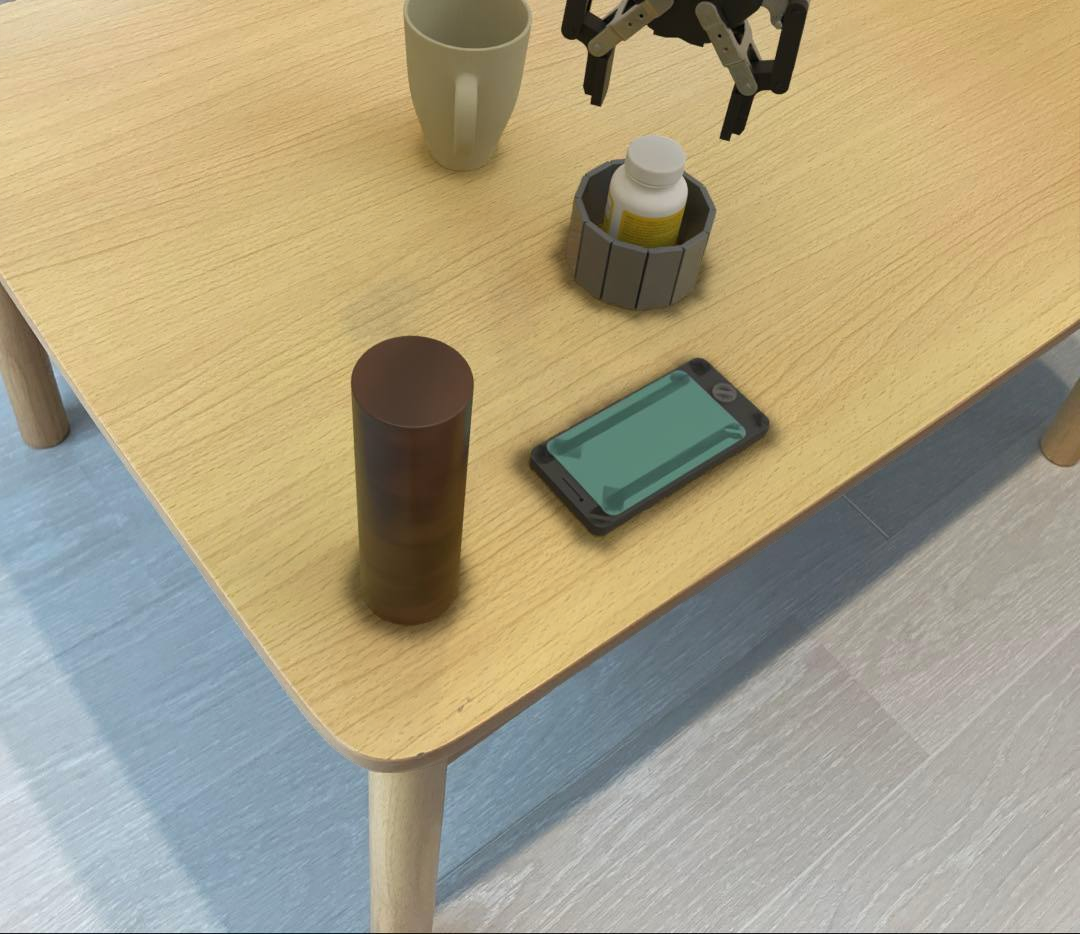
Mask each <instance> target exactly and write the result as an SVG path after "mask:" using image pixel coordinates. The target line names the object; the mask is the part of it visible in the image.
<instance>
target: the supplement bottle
mask: <svg viewBox="0 0 1080 934" xmlns="http://www.w3.org/2000/svg"><path fill="white" fill-rule="evenodd" d="M624 159H625V163H624V164H623V165H621V166H620V167H619V168H618V169H617V170H616V171H615V172H614V174H613V176H612V178H611V182H610V187H609V193H608V198H607V203H606V209H605V214H604V219H603V222H602V225H601V230H603V231H604V232H605V233H607V234H608V235H609V236H610V237H612V238H613V239H614V240H618V241H622V242H625V243H629V244H633V245H637V246H640V247H644V248H648V249H649V248H659V247H669V246H677V240H678V239H677V237H678V233H679V229H680V225H681V221H682V217H683V213H684V209H685V205H686V201H687V195H688V188H687V184H686V181H685V179H684V178H683V176H682V175H683V172H684V171H685V166H686V162H687V154H686V151H685V150H684V148H683V146H682V145H680V143H678V142H677V141H675V140H674V139H671V138H670V137H667V136H663V135H660V134H659V135H658V134H645V135H641V136H638V137H635V138H634V139H632V140H631V142H629V144H628V146H627V148H626V153H625V158H624Z"/></svg>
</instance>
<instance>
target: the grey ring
mask: <svg viewBox="0 0 1080 934" xmlns="http://www.w3.org/2000/svg"><path fill="white" fill-rule="evenodd" d="M624 163H625V158H615V159H610V160H607V161H605V162H602V163H601V164H599V165H598V166H596V167H594V168H593V169H591V170H589V171H587V172H585V173H584V175H582V178H581V179H580V182H579V184H578V186H577V188H576V191H575V193H574V196H573V202H572V203H573V204H572V209H571V217H570V223H569V228H568V234H567V240H566V241H567V242H566V248H565V259H566V262H567V265H568V268H569V271H570V273H571V276H572V278H573V280H575V283H577V284H578V285H579V286H580V287H582V288H583V289H584V290H585V291H586V292H588V293H589V294H590V295H591V296H593V297H594V298H595V299H596V300H598V301H599V300H601V302H602V303H606V304H609V305H612V306H617V307H621V308H624V309H627V310H631V311H634V310H636V311H637V312H638V311H644V310H654V309H664V308H669V306H670V307H671V306H673V305H675V304H676V303H678V302H679V301H681V300H682V299H684V298H685V297H687V296H688V295H690V294H691V293H693V292H694V290H695V288H696V285H697V282H698V278H699V275H700V273H701V272H700V271H701V267H702V265H703V261H704V258H705V254H706V251H707V248H708V247H707V246H708V245H709V240H710V237H711V233H712V229H713V226H714V223H715V219H716V216H717V207H716V205H715V203H714V201H713V199H712V197H711V194H710V193H709V190H708V188H707V186H705V184H703V183H702V182H701V181H700V180H698V178H696V177H694V176H693V175H691V174H690V173H689V172H687V171H686V170H684V172H683V175H682V176H683V178H684V179H685V181H686V184H687V188H688V195H687V201H686V205H685V209H684V213H683V217H682V221H681V225H680V229H679V233H678V237H677V240H678V242H680V243H682V244H680V245H675V246H669V247H659V248H649V249H648V248H644V247H640V246H637V245H633V244H629V243H625V242H622V241H618V240H614V239H613V238H612V237H610V236H609V235H608V234H607V233H605V232H604V231H603V230H602V228H600V227H599V226H598V225H600V224H603V219H604V214H605V209H606V203H607V198H608V193H609V187H610V182H611V178H612V176H613V174H614V172H615V171H616V170H617V169H618V168H619V167H620V166H621V165H623V164H624Z"/></svg>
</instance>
